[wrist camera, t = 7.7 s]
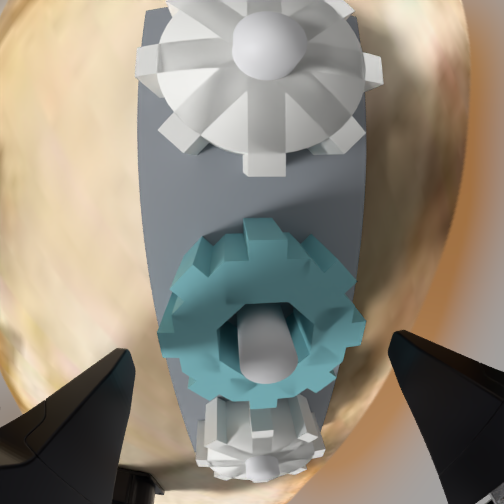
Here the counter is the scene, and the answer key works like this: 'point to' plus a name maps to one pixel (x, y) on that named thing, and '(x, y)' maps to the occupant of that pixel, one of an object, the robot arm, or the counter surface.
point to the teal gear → (252, 292)
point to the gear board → (252, 186)
